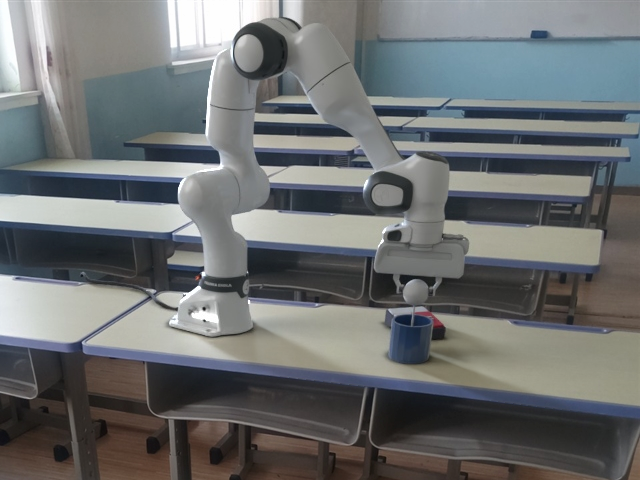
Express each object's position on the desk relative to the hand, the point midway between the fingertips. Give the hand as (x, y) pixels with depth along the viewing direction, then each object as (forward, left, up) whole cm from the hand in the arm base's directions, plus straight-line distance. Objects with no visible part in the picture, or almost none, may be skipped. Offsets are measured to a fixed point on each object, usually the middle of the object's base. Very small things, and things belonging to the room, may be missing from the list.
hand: (415, 294), depth 186 cm
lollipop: (0, 0, -12) cm, 12 cm away
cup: (0, 0, -15) cm, 15 cm away
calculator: (-4, +19, -15) cm, 25 cm away
